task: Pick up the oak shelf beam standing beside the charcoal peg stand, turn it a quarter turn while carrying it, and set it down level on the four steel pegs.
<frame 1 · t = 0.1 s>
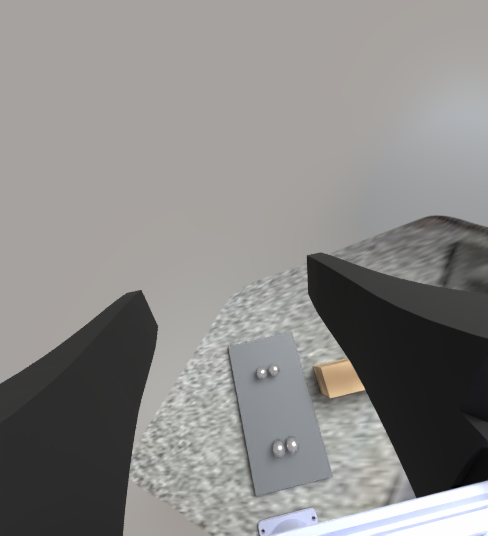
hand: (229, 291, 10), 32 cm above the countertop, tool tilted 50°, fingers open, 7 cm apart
peg stand: (275, 404, 37), on the countertop
oak shelf beam: (358, 369, 38), on the countertop
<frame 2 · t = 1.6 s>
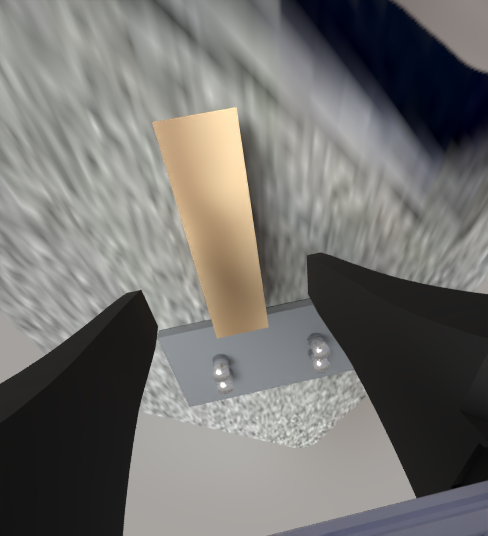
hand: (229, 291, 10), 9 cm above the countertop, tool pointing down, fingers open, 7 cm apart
peg stand: (266, 348, 25), on the countertop
oak shelf beam: (220, 224, 19), on the countertop
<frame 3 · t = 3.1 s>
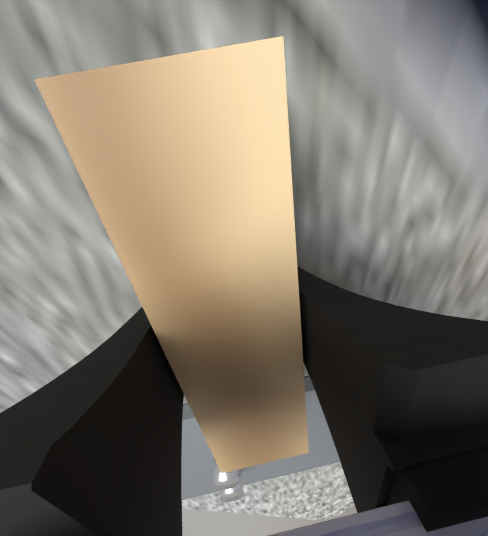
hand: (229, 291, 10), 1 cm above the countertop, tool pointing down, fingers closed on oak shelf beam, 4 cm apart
peg stand: (288, 426, 18), on the countertop
oak shelf beam: (227, 275, 11), on the countertop, touching gripper
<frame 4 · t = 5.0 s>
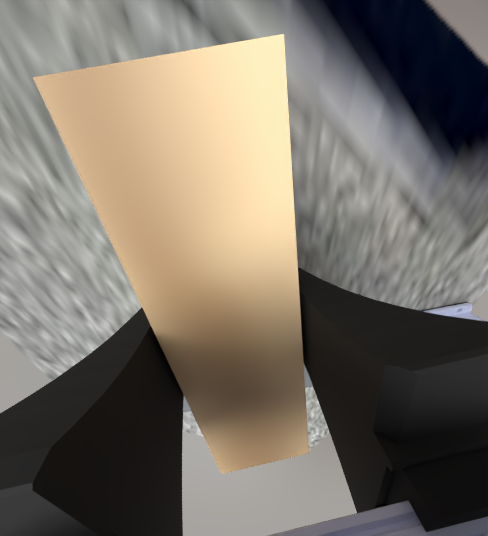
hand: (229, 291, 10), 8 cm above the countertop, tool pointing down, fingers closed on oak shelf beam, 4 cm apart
oak shelf beam: (227, 275, 11), point 7 cm above the countertop, touching gripper
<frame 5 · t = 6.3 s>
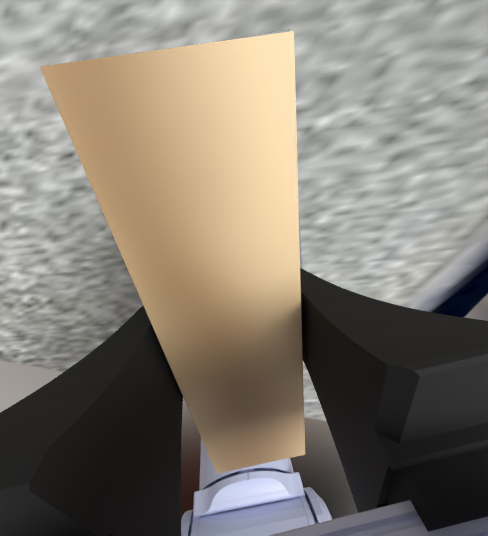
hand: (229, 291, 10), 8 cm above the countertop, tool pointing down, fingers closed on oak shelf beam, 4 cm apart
oak shelf beam: (227, 274, 11), point 6 cm above the countertop, touching gripper
when the fingers open (5 cm above the countertop, at t = 7.2 s): oak shelf beam stays where it is, resting on peg stand.
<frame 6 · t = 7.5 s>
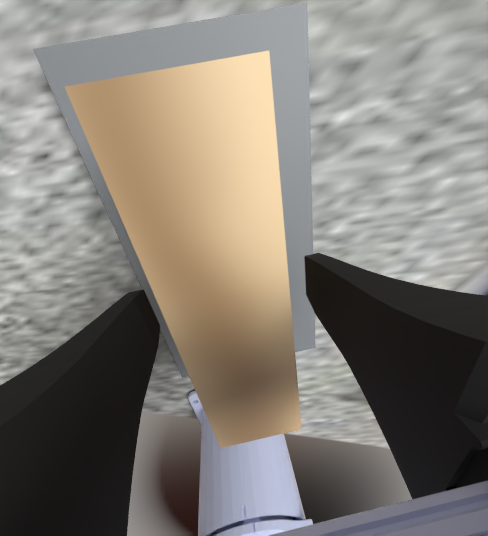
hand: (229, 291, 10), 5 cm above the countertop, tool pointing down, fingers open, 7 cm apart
peg stand: (223, 245, 15), on the countertop
oak shelf beam: (225, 265, 12), point 3 cm above the countertop, touching peg stand
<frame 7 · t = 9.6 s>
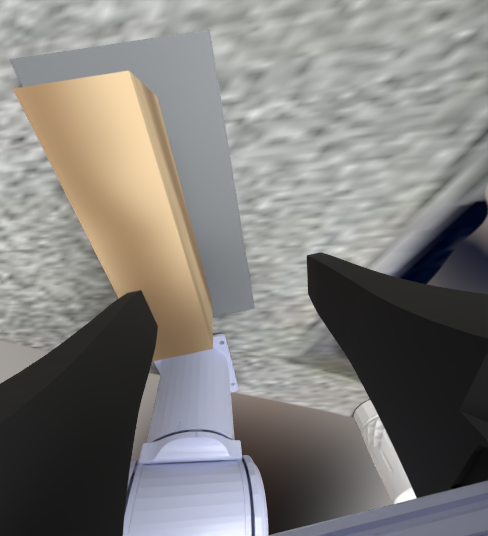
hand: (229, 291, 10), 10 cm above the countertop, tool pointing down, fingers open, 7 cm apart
peg stand: (168, 215, 19), on the countertop
white cup: (372, 408, 36), on the countertop
oak shelf beam: (161, 226, 16), point 3 cm above the countertop, touching peg stand
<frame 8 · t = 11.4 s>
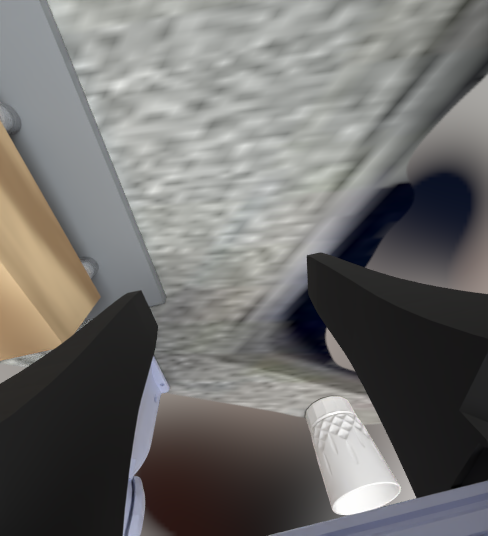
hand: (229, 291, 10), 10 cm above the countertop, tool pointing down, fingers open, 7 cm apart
peg stand: (47, 202, 17), on the countertop
white cup: (326, 408, 35), on the countertop
oak shelf beam: (16, 211, 14), point 3 cm above the countertop, touching peg stand
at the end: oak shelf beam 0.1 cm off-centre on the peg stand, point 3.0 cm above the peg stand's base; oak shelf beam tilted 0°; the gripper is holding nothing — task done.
